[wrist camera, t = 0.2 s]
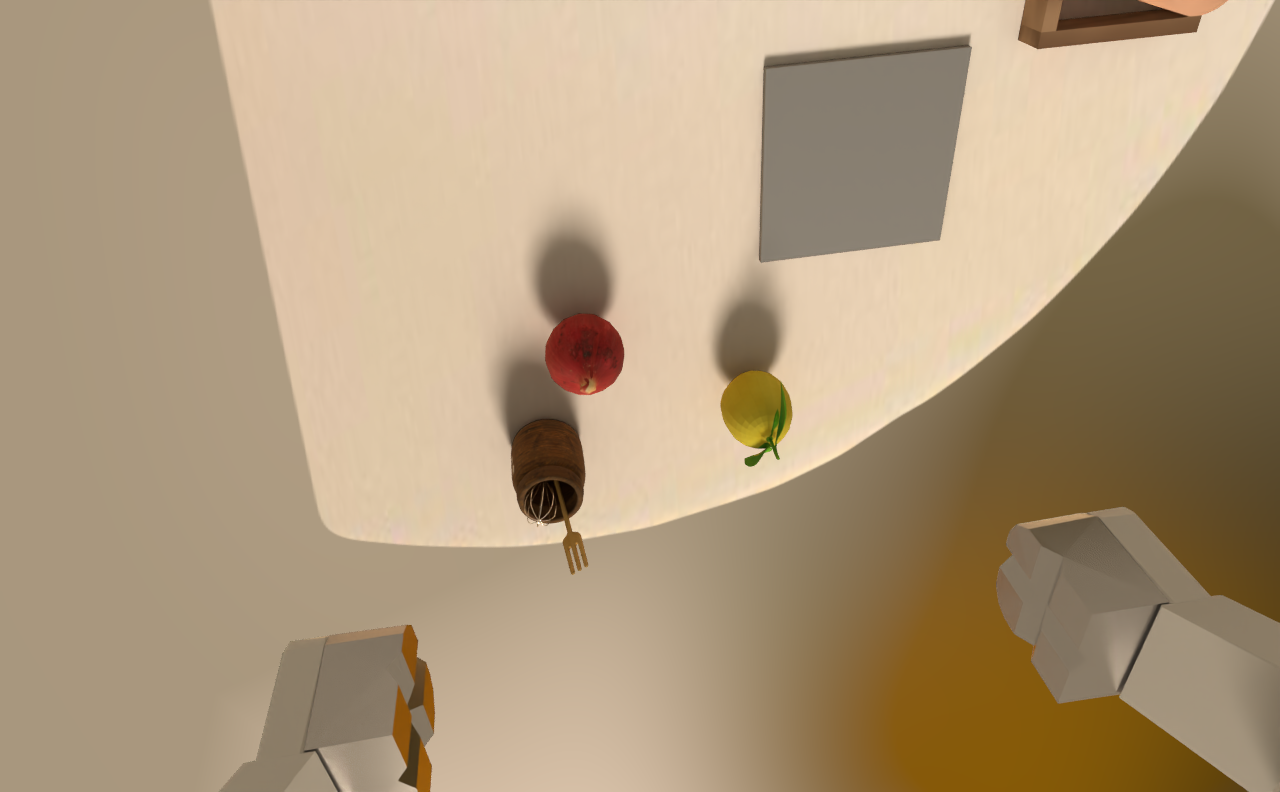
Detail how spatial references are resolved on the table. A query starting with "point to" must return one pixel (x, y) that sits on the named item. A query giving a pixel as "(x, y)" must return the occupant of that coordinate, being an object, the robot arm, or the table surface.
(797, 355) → the table surface
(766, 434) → the lemon
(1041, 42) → the brown wooden frame
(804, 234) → the mat
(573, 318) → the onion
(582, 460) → the utensil holder
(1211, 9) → the capsule with tab
